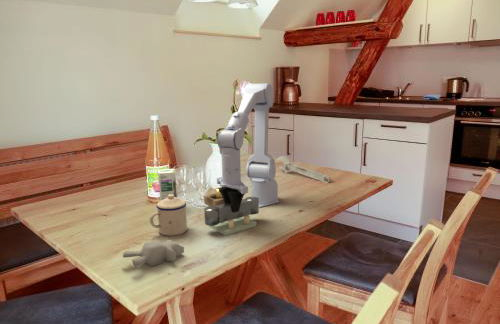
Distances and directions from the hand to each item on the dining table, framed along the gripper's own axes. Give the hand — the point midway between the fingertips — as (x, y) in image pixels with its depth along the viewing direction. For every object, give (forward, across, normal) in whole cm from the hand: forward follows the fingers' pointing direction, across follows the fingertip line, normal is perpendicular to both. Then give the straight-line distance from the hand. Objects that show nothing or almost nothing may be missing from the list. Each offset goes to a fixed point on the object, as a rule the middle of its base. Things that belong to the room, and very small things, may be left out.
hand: (232, 210), depth 127 cm
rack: (+5, 0, 0) cm, 5 cm away
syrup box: (+6, -28, -9) cm, 30 cm away
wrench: (+6, -28, +58) cm, 65 cm away
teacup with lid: (+6, -9, -18) cm, 21 cm away
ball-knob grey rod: (+2, 0, 0) cm, 2 cm away
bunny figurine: (+6, +7, -29) cm, 31 cm away
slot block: (+5, -21, +8) cm, 23 cm away
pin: (+5, -21, +8) cm, 23 cm away
